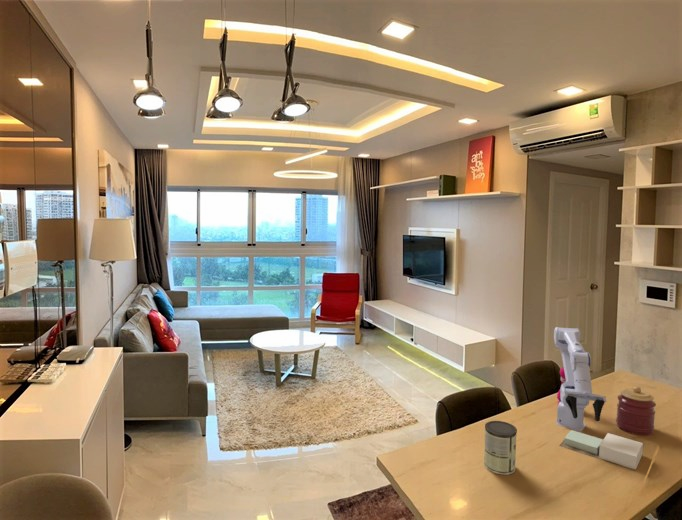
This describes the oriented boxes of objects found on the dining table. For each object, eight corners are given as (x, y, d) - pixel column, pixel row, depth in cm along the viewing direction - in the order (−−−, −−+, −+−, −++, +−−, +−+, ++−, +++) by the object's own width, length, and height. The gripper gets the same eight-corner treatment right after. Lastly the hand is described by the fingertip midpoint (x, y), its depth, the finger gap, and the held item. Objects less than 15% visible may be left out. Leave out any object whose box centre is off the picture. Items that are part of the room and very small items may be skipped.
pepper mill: (573, 405, 200) (576, 362, 199) (574, 411, 194) (577, 367, 192) (556, 402, 204) (558, 360, 202) (556, 408, 197) (558, 365, 195)
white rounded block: (598, 457, 155) (599, 445, 155) (607, 444, 164) (607, 432, 164) (635, 469, 148) (636, 456, 147) (642, 455, 157) (642, 443, 156)
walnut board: (559, 447, 163) (559, 445, 163) (570, 433, 174) (570, 432, 174) (635, 472, 147) (635, 470, 147) (642, 455, 157) (642, 454, 157)
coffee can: (482, 457, 156) (483, 419, 155) (512, 460, 154) (514, 421, 153) (485, 473, 146) (486, 432, 145) (518, 476, 144) (519, 436, 143)
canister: (653, 439, 169) (656, 395, 168) (614, 429, 177) (616, 387, 175) (654, 426, 180) (657, 385, 178) (617, 418, 187) (619, 378, 186)
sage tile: (564, 443, 165) (564, 437, 164) (570, 435, 171) (571, 429, 171) (597, 454, 157) (597, 448, 157) (602, 445, 163) (603, 439, 163)
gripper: (566, 377, 165) (569, 414, 159) (607, 382, 163) (612, 420, 156) (560, 382, 171) (562, 418, 165) (599, 387, 169) (604, 423, 163)
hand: (586, 419), depth 161 cm, fingers open, 7 cm apart
